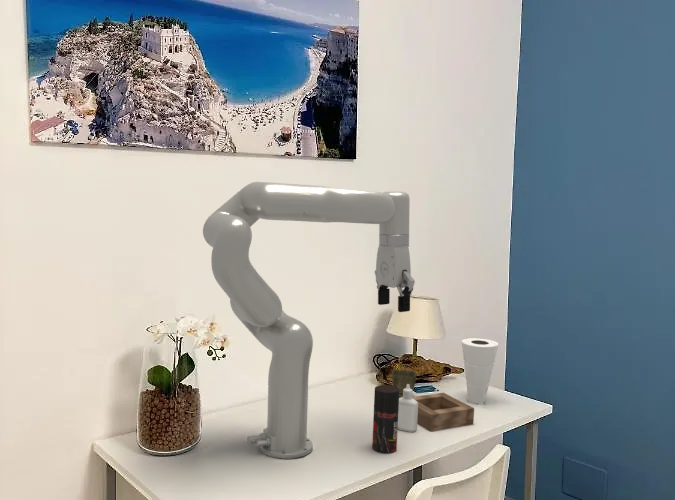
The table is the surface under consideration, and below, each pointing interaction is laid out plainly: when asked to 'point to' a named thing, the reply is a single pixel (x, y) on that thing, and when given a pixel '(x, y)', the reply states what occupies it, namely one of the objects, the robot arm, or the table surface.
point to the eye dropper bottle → (407, 411)
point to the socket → (443, 412)
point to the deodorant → (385, 419)
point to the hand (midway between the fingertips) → (393, 307)
